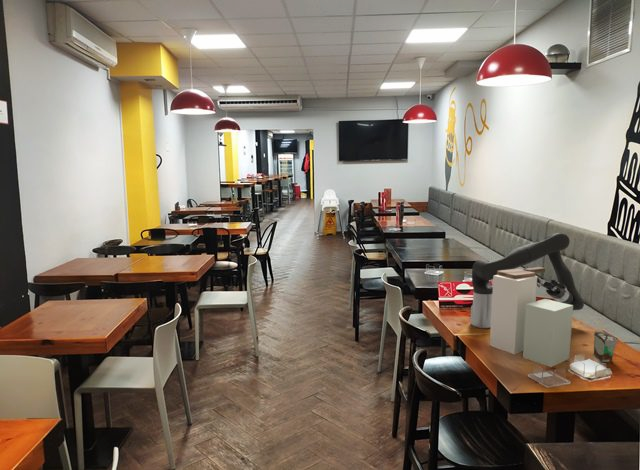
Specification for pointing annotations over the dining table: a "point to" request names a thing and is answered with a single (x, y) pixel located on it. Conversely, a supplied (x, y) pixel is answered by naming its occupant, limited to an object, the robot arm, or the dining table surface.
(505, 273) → the serving paddle
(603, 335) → the food container
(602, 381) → the dining table surface
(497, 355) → the dining table surface
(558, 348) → the low stand
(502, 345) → the tall stand
